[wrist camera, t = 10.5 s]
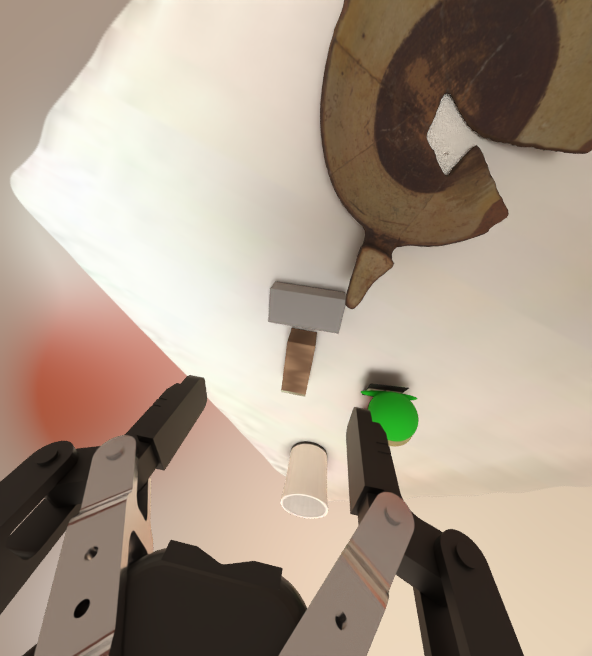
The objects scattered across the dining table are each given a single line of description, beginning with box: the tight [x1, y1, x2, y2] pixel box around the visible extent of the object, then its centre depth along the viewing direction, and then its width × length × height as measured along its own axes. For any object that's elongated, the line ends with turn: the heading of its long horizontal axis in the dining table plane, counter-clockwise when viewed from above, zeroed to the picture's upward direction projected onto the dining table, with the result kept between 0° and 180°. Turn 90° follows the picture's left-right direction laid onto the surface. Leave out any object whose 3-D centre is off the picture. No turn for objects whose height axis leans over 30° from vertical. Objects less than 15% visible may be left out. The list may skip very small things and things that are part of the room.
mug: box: [280, 442, 328, 518], centre depth 45 cm, size 11×9×10 cm
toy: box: [361, 384, 418, 446], centre depth 36 cm, size 8×8×15 cm
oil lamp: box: [320, 0, 592, 309], centre depth 19 cm, size 22×30×8 cm
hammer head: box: [268, 282, 346, 334], centre depth 31 cm, size 10×5×3 cm, turn 84°
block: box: [281, 328, 317, 396], centre depth 35 cm, size 4×4×10 cm
